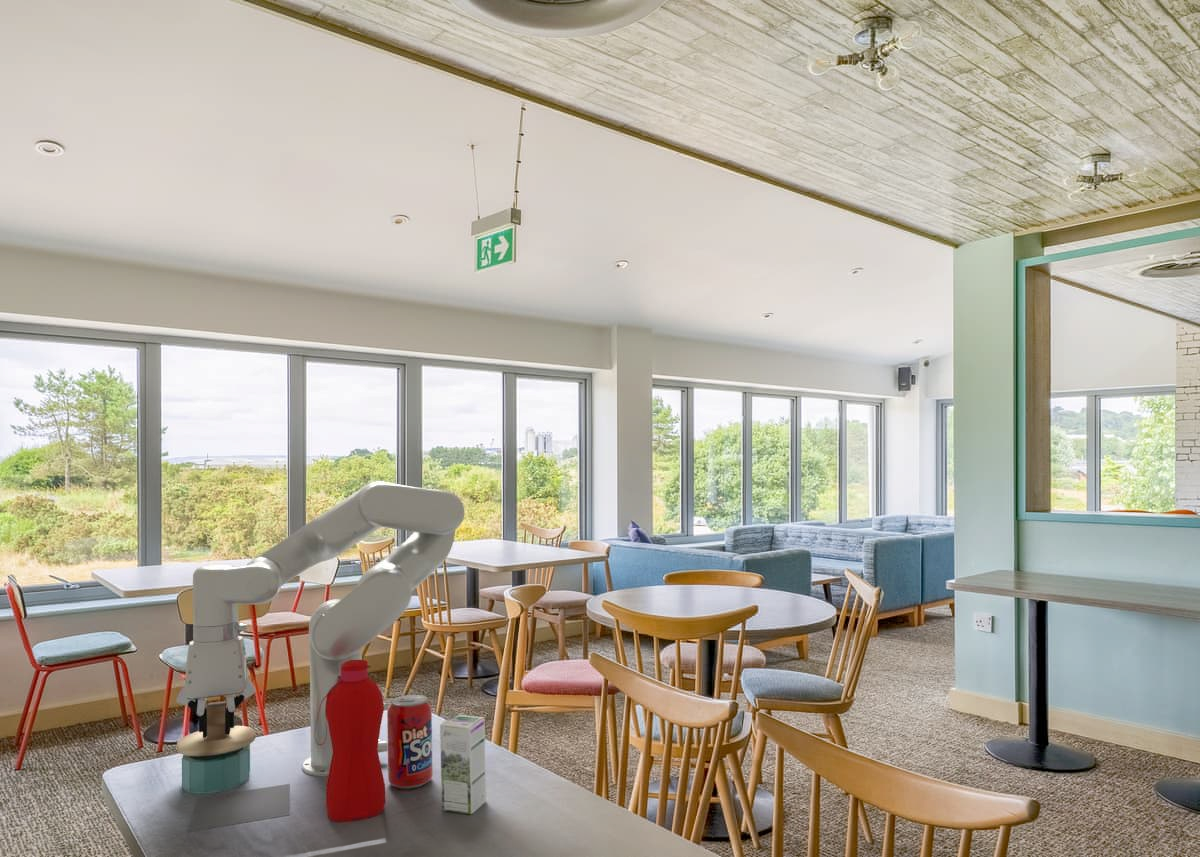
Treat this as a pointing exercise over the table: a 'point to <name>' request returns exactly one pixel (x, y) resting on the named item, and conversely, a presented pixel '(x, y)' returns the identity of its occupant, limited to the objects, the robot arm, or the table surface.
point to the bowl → (215, 771)
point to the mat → (241, 807)
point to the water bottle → (354, 745)
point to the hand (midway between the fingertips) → (216, 732)
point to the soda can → (409, 741)
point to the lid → (216, 735)
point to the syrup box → (463, 764)
